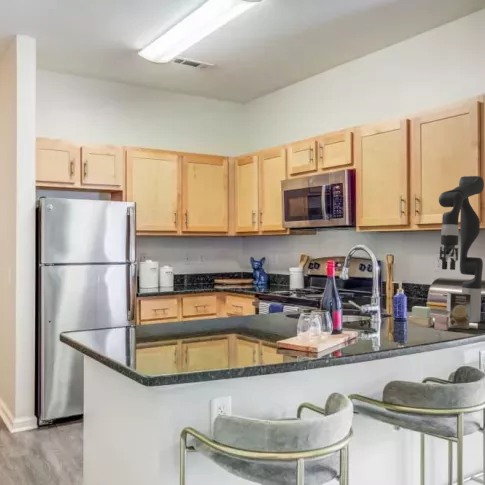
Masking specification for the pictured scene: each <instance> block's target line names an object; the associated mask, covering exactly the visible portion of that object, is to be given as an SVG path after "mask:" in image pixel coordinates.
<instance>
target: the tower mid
mask: <svg viewBox="0 0 485 485" xmlns="http://www.w3.org/2000/svg"><path fill="white" fill-rule="evenodd" d="M411 316H412V317H421V318H428V317H431V306H429V307H428V306H420V305H419V306H417V305H415V306H412V307H411Z"/></svg>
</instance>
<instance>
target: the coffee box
mask: <svg viewBox="0 0 485 485" xmlns="http://www.w3.org/2000/svg"><path fill="white" fill-rule="evenodd" d="M446 298H447V299H446V315H445V316H449V328H448V329H464V330H465V329H466V330H468V329H470V322H469V319H470V298H471V295H470V294H462V292H461V293H458V292H447V297H446Z"/></svg>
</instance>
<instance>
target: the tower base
mask: <svg viewBox="0 0 485 485" xmlns="http://www.w3.org/2000/svg"><path fill="white" fill-rule="evenodd" d="M407 322H408V326H410V325H411V327H412V326H413V327H419V326H420V327H421V328H429V327H432V325H433V322H434V316H430V317H428V318H421V317H412V315H409V316H408V321H407ZM420 327H419V328H420Z"/></svg>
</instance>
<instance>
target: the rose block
mask: <svg viewBox="0 0 485 485" xmlns="http://www.w3.org/2000/svg"><path fill="white" fill-rule="evenodd" d="M435 329H437V330H439V331H444V330H446V331H448V330H449V329H450V328H449V316H446V315H435V316H434V330H435ZM437 330H436V331H437Z"/></svg>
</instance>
